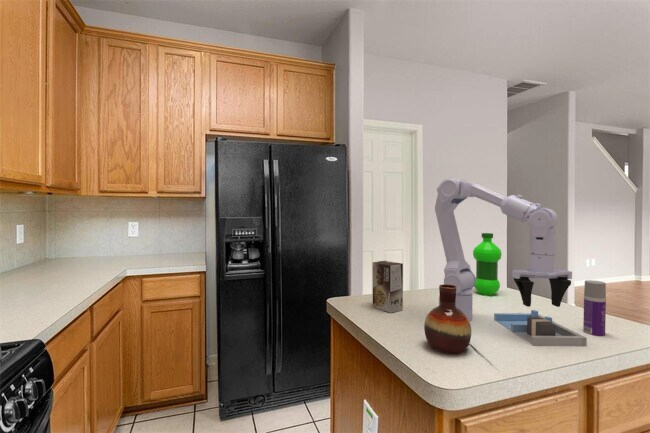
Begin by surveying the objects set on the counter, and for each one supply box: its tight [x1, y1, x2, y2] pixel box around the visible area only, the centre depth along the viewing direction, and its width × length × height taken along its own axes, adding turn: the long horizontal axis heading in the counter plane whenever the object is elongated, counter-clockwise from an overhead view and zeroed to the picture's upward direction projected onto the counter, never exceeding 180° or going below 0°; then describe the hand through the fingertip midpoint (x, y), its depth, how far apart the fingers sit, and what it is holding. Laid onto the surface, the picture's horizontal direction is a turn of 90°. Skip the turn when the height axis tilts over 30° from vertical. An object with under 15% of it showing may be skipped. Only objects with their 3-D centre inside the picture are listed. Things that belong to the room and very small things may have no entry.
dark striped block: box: [527, 317, 556, 336], centre depth 88 cm, size 4×6×5 cm, turn 0°
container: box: [582, 279, 607, 337], centre depth 92 cm, size 5×5×15 cm
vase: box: [423, 283, 472, 355], centre depth 84 cm, size 11×11×15 cm
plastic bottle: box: [472, 232, 502, 296], centre depth 139 cm, size 10×10×25 cm
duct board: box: [493, 309, 588, 347], centre depth 93 cm, size 13×20×4 cm, turn 0°
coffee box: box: [371, 260, 404, 314], centre depth 117 cm, size 9×6×16 cm
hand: (541, 305), depth 88 cm, fingers open, 7 cm apart
